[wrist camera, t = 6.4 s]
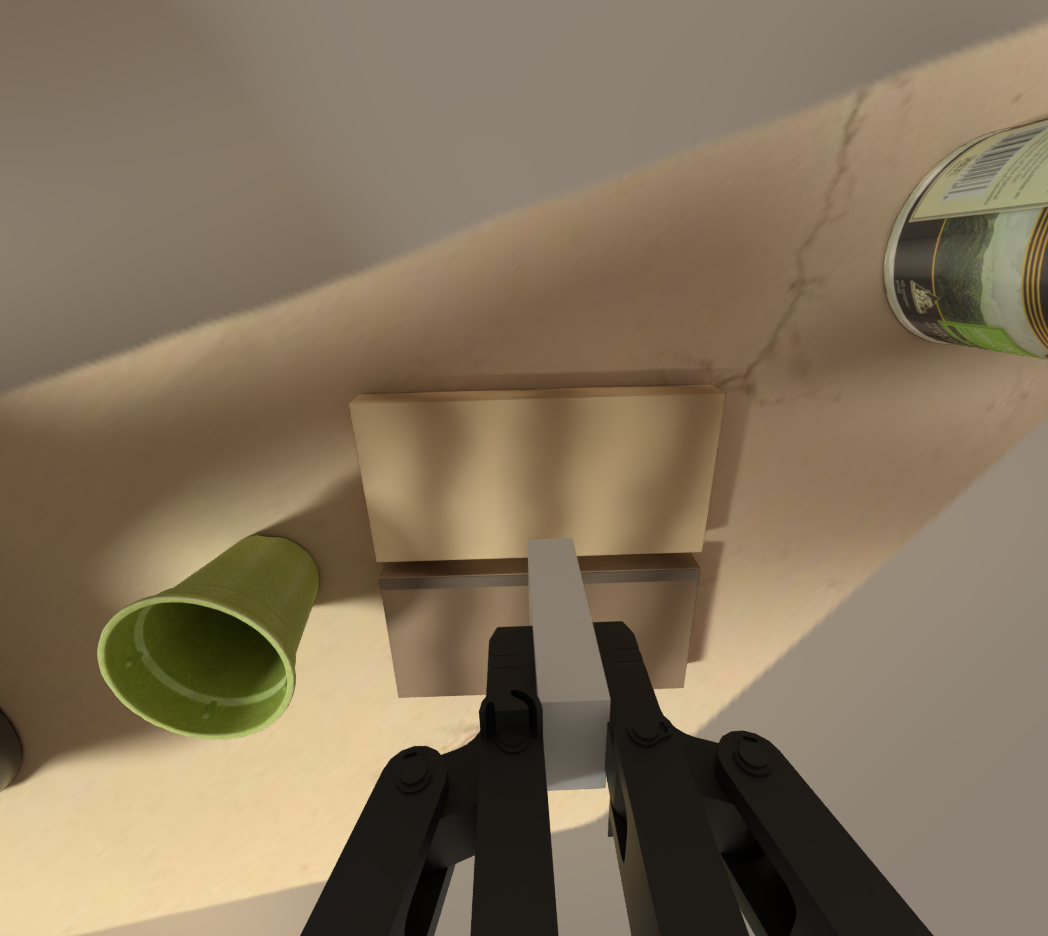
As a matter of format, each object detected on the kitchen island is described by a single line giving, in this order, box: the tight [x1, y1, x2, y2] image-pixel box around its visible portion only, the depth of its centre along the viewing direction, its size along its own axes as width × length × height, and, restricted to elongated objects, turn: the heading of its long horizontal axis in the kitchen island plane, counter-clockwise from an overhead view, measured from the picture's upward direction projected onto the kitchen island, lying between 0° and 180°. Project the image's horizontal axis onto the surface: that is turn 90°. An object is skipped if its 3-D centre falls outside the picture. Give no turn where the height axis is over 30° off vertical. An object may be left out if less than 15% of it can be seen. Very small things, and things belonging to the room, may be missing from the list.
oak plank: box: [349, 384, 726, 562], centre depth 29 cm, size 20×10×2 cm, turn 91°
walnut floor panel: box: [379, 552, 700, 698], centre depth 33 cm, size 20×10×2 cm, turn 91°
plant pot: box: [97, 535, 319, 740], centre depth 28 cm, size 9×9×9 cm
